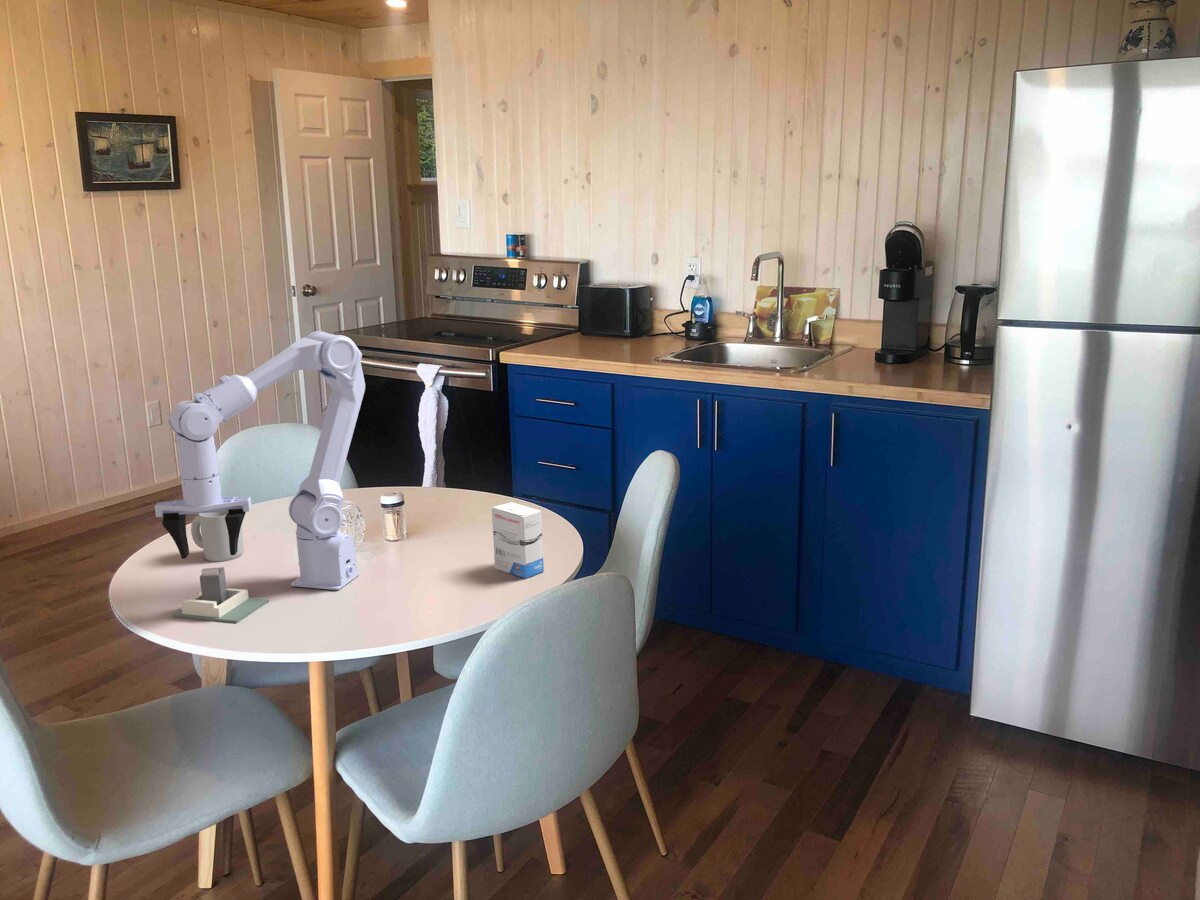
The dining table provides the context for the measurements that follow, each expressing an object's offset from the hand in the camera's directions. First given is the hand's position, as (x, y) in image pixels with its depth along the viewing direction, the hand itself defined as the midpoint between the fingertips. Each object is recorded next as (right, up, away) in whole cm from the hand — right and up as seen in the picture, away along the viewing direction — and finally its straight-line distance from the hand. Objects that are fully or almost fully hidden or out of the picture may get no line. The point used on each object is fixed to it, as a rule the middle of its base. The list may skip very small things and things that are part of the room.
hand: (209, 554), depth 159 cm
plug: (0, -9, +2) cm, 9 cm away
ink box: (+50, -5, +17) cm, 53 cm away
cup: (-10, -3, +28) cm, 29 cm away
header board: (+1, -9, +2) cm, 9 cm away
